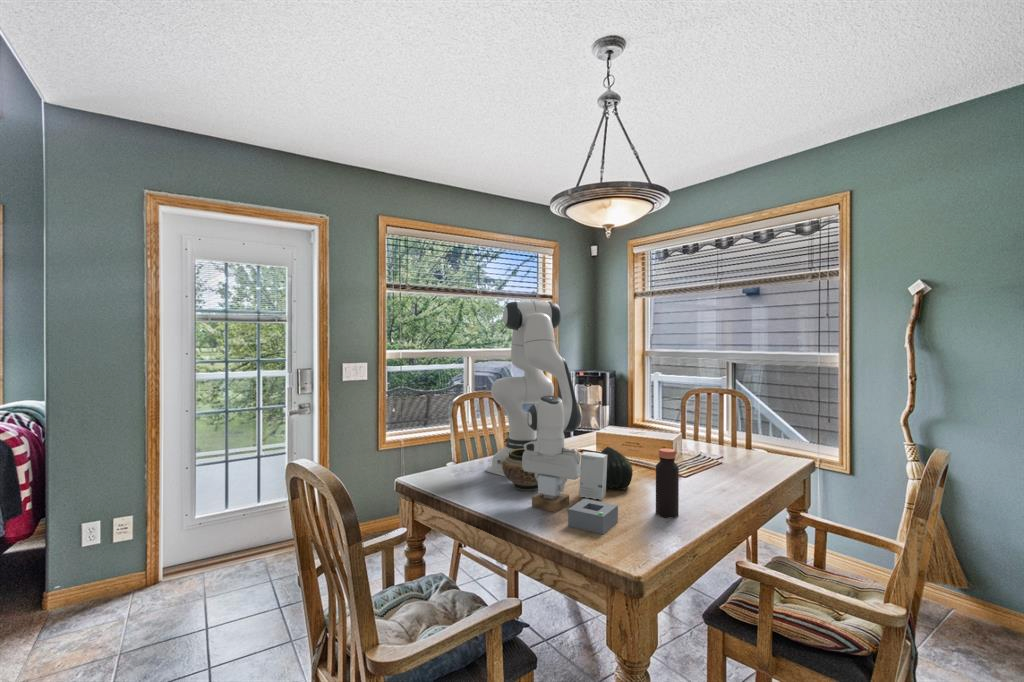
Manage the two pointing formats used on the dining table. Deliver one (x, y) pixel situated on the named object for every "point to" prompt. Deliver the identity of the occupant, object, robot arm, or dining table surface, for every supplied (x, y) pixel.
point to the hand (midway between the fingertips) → (550, 488)
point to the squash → (617, 469)
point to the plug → (549, 486)
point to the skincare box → (593, 475)
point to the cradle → (550, 502)
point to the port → (593, 516)
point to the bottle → (667, 484)
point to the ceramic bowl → (518, 471)
